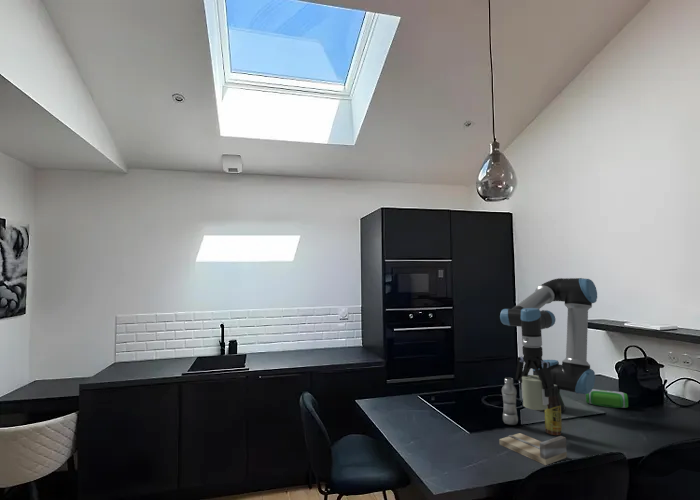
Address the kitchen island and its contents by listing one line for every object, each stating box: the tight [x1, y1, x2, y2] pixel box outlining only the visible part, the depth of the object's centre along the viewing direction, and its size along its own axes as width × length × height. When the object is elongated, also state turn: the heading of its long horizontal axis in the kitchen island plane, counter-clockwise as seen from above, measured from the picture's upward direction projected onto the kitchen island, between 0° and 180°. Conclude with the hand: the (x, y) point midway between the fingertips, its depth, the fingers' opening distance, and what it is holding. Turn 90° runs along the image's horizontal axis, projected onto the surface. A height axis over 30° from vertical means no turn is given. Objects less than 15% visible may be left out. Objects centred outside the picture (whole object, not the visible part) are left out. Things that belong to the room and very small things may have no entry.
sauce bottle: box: [544, 384, 563, 436], centre depth 168 cm, size 7×6×20 cm
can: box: [522, 374, 548, 411], centre depth 165 cm, size 9×9×12 cm
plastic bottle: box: [501, 377, 519, 426], centre depth 178 cm, size 6×7×20 cm
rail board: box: [498, 432, 568, 466], centre depth 152 cm, size 20×12×7 cm, turn 29°
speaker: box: [585, 388, 629, 409], centre depth 200 cm, size 18×7×8 cm, turn 61°
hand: (535, 401), depth 164 cm, fingers closed on can, 9 cm apart
